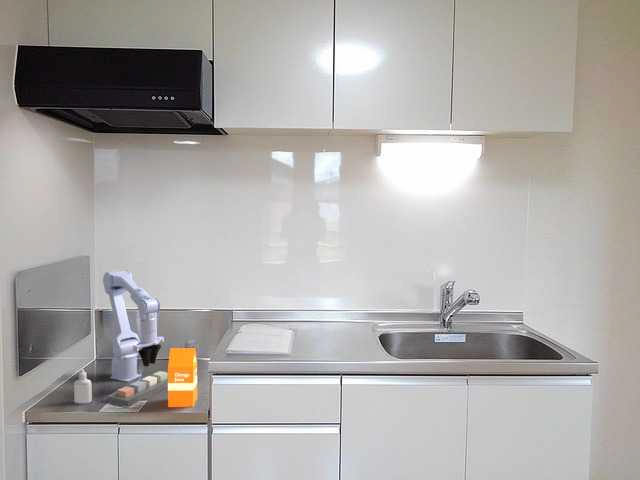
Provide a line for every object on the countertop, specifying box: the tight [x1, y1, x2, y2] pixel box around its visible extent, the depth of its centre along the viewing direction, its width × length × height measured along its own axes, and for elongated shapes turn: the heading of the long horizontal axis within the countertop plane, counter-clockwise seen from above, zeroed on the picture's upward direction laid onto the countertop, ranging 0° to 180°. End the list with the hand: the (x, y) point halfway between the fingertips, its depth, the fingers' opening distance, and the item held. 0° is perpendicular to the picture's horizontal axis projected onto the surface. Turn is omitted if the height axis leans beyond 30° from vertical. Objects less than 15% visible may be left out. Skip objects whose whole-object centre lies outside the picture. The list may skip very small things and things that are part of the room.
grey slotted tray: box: [106, 374, 168, 407], centre depth 182 cm, size 10×26×2 cm, turn 157°
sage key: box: [152, 370, 168, 381], centre depth 191 cm, size 4×4×2 cm
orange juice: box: [167, 347, 198, 408], centre depth 172 cm, size 8×9×20 cm
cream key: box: [141, 375, 157, 387], centre depth 185 cm, size 4×4×2 cm
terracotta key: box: [116, 385, 134, 398], centre depth 174 cm, size 4×4×2 cm
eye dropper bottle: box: [73, 368, 93, 405], centre depth 171 cm, size 4×6×12 cm
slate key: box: [129, 380, 146, 392], centre depth 180 cm, size 4×4×2 cm
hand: (149, 364), depth 185 cm, fingers open, 3 cm apart
